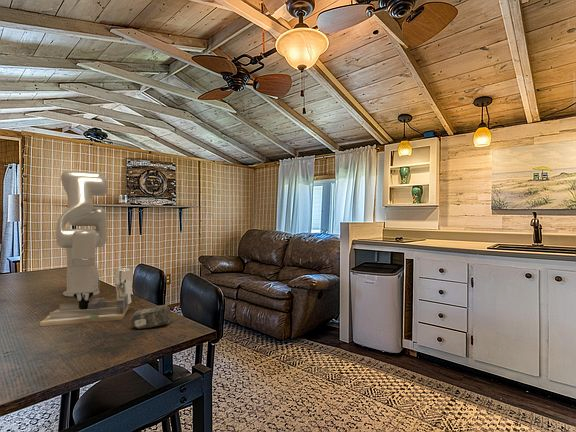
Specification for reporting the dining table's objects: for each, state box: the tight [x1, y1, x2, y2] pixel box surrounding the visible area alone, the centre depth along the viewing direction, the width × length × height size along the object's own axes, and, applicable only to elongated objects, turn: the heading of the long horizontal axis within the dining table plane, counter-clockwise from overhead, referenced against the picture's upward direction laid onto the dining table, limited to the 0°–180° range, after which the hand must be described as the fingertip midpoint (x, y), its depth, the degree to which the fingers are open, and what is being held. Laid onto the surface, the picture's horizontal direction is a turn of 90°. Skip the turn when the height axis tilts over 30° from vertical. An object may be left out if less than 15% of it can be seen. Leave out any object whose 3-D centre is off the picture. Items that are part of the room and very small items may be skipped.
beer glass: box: [114, 267, 134, 305], centre depth 144 cm, size 7×7×15 cm
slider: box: [88, 297, 106, 309], centre depth 126 cm, size 12×4×5 cm, turn 17°
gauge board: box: [39, 294, 130, 327], centre depth 127 cm, size 16×26×6 cm, turn 107°
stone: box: [130, 304, 173, 330], centre depth 117 cm, size 14×7×10 cm, turn 128°
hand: (83, 309), depth 126 cm, fingers closed
